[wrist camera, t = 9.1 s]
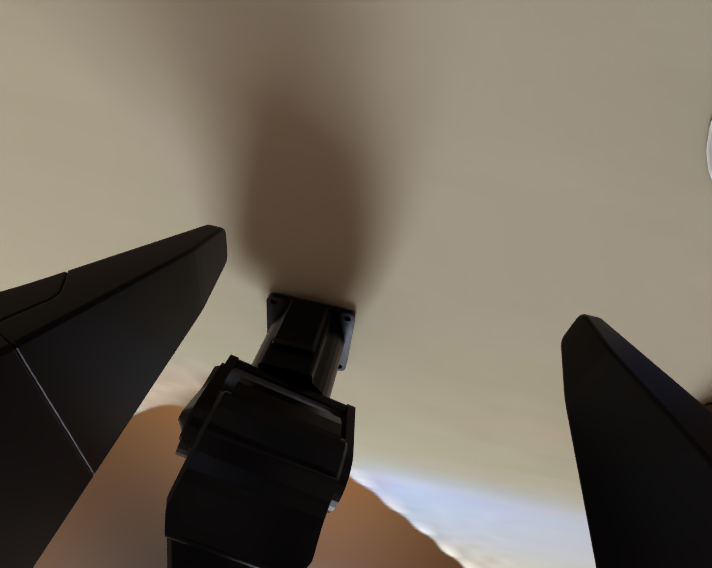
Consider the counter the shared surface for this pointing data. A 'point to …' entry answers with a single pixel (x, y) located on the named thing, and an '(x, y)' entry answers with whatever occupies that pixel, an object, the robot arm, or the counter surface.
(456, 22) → the counter surface
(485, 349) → the counter surface
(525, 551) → the counter surface
